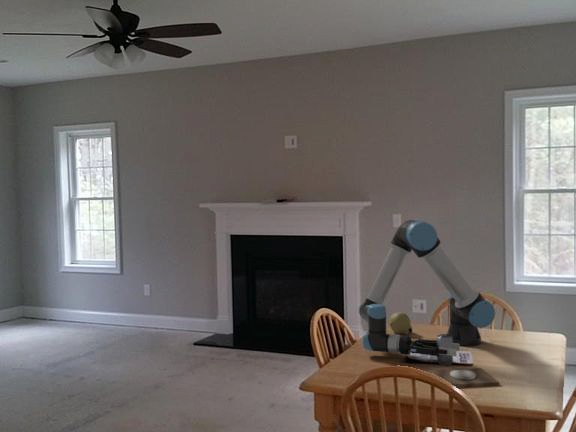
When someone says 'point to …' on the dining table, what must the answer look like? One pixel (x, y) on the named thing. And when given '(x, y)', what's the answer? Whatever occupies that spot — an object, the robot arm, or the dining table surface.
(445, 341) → the grey metallic can
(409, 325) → the olive green rounded lump
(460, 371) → the brown flat slab
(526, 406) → the dining table surface
